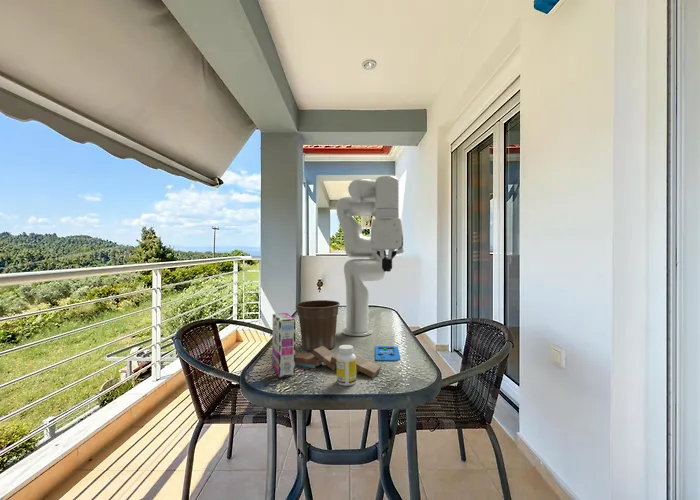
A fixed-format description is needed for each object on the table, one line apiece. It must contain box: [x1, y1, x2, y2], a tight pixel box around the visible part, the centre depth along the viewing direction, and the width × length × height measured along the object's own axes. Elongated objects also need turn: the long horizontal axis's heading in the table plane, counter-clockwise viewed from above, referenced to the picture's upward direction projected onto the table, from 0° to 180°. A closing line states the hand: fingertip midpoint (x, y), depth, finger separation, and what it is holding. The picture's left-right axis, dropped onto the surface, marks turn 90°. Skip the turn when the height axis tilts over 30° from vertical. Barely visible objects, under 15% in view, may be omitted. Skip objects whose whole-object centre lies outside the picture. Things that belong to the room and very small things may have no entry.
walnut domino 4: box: [355, 354, 382, 379], centre depth 100 cm, size 2×5×9 cm
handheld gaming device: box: [374, 345, 401, 362], centre depth 117 cm, size 8×1×15 cm
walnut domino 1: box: [295, 351, 323, 366], centre depth 107 cm, size 2×5×9 cm
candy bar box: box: [271, 312, 296, 378], centre depth 102 cm, size 11×5×16 cm, turn 23°
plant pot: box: [295, 299, 341, 352], centre depth 125 cm, size 16×16×16 cm
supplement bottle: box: [336, 344, 357, 387], centre depth 93 cm, size 5×5×10 cm
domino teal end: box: [295, 363, 321, 369], centre depth 108 cm, size 2×5×9 cm
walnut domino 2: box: [311, 346, 337, 371], centre depth 105 cm, size 2×5×9 cm
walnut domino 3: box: [330, 352, 360, 375], centre depth 102 cm, size 2×5×9 cm
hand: (387, 271), depth 110 cm, fingers closed
